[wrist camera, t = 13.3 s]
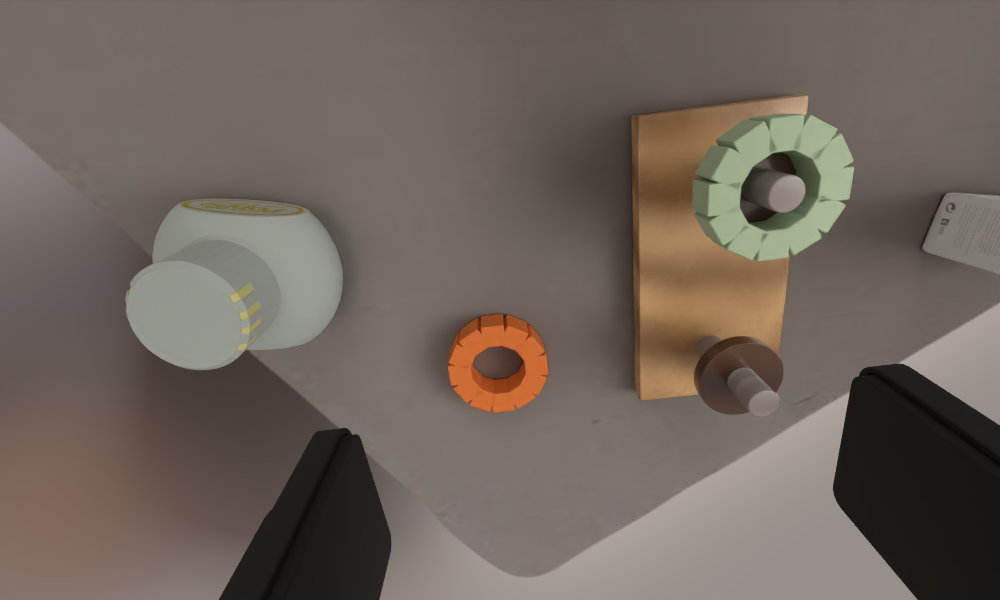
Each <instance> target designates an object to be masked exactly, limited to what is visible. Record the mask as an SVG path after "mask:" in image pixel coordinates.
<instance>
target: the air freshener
mask: <svg viewBox="0 0 1000 600" xmlns="http://www.w3.org/2000/svg"><path fill="white" fill-rule="evenodd" d="M130 286H131V289H130V290H128V291H127V293H126V298H125V301H126V303H127V309H126V314H127V318H128V320H129V322H130V324H131V328H132V329H133V331H134V333H135V334H136V336H137V337H138V339H139V340H140V341H141V342H142V343H143V345H145V346H146V347H147V348H148V349H149V350H150V351H151V352H153V353H154V354H155V355H157V356H158V357H160V358H162V359H163V360H165V361H167V362H169V363H172V364H174V365H176V366H179V367H183V368H187V369H193V370H210V369H216V368H219V367H223V366H225V365H227V364H229V363H231V362H232V361H234V360H235V359H236V358H237V357H239V356H240V355H241V354H242V353H243V352H244V351H245V350H270V349H282V348H288V347H294V346H298V345H302V344H305V343H307V342H309V341H311V340H312V339H314V338H315V337H316V336H317V335H319V334H320V333H321V332H322V331H323V330H324V328H325V327H326V326H327V325H328V324H329V323H330V321H331V319H332V318H333V316H334V314H335V313H336V311H337V308H338V305H339V302H340V299H341V294H342V288H343V270H342V266H341V261H340V257H339V254H338V251H337V249H336V246H335V244H334V242H333V240H332V238H331V237H330V235H329V233H328V231H327V230H326V229H325V227H324V226H323V225H322V224H321V222H320V221H319V220H318V219H317V218H316V217H315V216H314V215H313V214H312V213H311V212H310V211H309V210H308V209H306V208H303V207H300V206H297V205H292V204H287V203H280V202H272V201H262V200H249V199H195V200H187V201H183V202H180V203H178V204H177V205H176V206H175V207H174V208H173V209H172V210H171V211H170V212H169V213H168V215H167V216H166V218H165V219H164V221H163V222H162V223H161V225H160V228H159V230H158V233H157V235H156V238H155V242H154V248H153V264H152V265H150V266H148V267H146V268H145V269H143V270H141V271H140V272H139V273H138V274H137V275H136V276H135V277H134V278H133V280H132V281H131V283H130Z"/></svg>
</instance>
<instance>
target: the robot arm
mask: <svg viewBox="0 0 1000 600" xmlns="http://www.w3.org/2000/svg"><path fill="white" fill-rule="evenodd" d="M833 492H834V496H835V498H836V501H837V503H838V504H839V506H840V508H841V509H842V510H843V511H844V512H845V514H846V515H847V516H848V517H849V518H850V519H851V521H852V522H853V523H854V524H855V526H856V527H857V528H858V529H859V530H860V532H861V533H862V534H863V535H864V536H865V537H866V539H867V540H868V541H869V542H870V543H871V545H872V546H873V547H874V548H875V549H876V551H878V553H879V554H880V555H881V556H882V558H883V559H884V560H885V561H886V562H887V564H888V565H889V566H890V567H891V568H892V569H893V571H894V572H895V573H896V574H897V576H898V577H899V578H900V579H901V580H902V582H903V583H904V584H905V585H906V586H907V588H908V589H909V590H910V591H911V592H912V593H913V595H914V596H915V597H916V598H917V599H918V600H1000V425H998V424H997V423H995V422H994V421H992V420H990V419H989V418H987V417H986V416H984V415H983V414H981V413H980V412H978V411H977V410H975V409H973V408H972V407H970V406H969V405H967V404H966V403H964V402H963V401H961V400H960V399H958V398H957V397H955V396H954V395H952V394H950V393H949V392H947V391H946V390H944V389H943V388H941V387H940V386H938V385H937V384H935V383H933V382H932V381H930V380H929V379H927V378H926V377H924V376H923V375H921V374H919V373H918V372H917V371H915V370H913V369H912V368H910V367H909V366H906V365H904V364H891V365H882V366H873V367H867V368H864V369H863V370H862V371H861V372H860V374H859V376H858V377H855V378H854V379H853V381H852V384H851V389H850V395H849V400H848V406H847V412H846V417H845V422H844V428H843V434H842V439H841V445H840V450H839V456H838V461H837V467H836V473H835V478H834V484H833ZM390 552H391V534H390V531H389V527H388V524H387V521H386V518H385V515H384V511H383V508H382V505H381V502H380V499H379V495H378V492H377V489H376V486H375V483H374V480H373V476H372V473H371V470H370V467H369V464H368V460H367V457H366V454H365V451H364V448H363V445H362V441H361V439H360V437H359V436H358V435H356V434H355V435H352V434H351V432H350V431H349V430H348V429H347V428H341V429H332V430H324V431H318V432H316V433H315V434H314V435H313V437H312V439H311V440H310V442H309V444H308V446H307V448H306V449H305V451H304V453H303V455H302V457H301V459H300V460H299V462H298V464H297V466H296V468H295V469H294V471H293V473H292V475H291V477H290V478H289V480H288V482H287V484H286V486H285V487H284V489H283V491H282V493H281V495H280V496H279V498H278V500H277V502H276V504H275V505H274V507H273V509H272V510H271V511H270V512H269V513H268V514H267V516H266V517H265V518H264V520H263V522H262V524H261V525H260V527H259V529H258V531H257V532H256V534H255V536H254V538H253V540H252V541H251V543H250V545H249V547H248V549H247V551H246V552H245V554H244V556H243V557H242V559H241V561H240V563H239V565H238V566H237V568H236V570H235V572H234V573H233V575H232V577H231V579H230V581H229V582H228V584H227V586H226V588H225V590H224V591H223V593H222V595H221V597H220V598H219V600H379V598H380V595H381V590H382V586H383V582H384V578H385V573H386V569H387V565H388V561H389V557H390Z"/></svg>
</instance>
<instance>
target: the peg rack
mask: <svg viewBox="0 0 1000 600" xmlns="http://www.w3.org/2000/svg"><path fill="white" fill-rule="evenodd" d="M808 100H809V95H808V94H804V95H789V96H782V97H774V98H766V99H758V100H751V101H743V102H735V103H727V104H720V105H712V106H704V107H696V108H688V109H681V110H673V111H665V112H657V113H650V114H642V115H634V116H632V117H631V128H632V202H633V276H634V350H635V391H636V393H637V395H638V397H639V398H640V400H641V401H644V400H652V399H661V398H670V397H679V396H688V395H696V394H699V395H700V396H701V398H702V399H703V400H704V402H705V403H706V404H707V405H708V406H709V407H710V408H712V409H713V410H715V411H718V412H720V413H724V414H733V415H734V414H743V413H747V412H750V413H751V414H752V415H754V416H757V417H764V416H767V415H770V414H771V413H773V412H774V411H775V410H776V409H777V407H778V405H779V397H778V395H777V394H776V392H777V390H778V389H779V387H780V385H781V382H782V379H783V365H782V361H781V359H780V357H779V356H778V354H779V345H780V337H781V328H782V320H783V311H784V303H785V295H786V286H787V278H788V269H789V261H790V254H789V253H788V257H787V258H782V259H774V260H765V261H756V260H754V259H753V260H748V259H746V258H744V257H742V256H739V255H737V254H735V253H733V252H730V251H728V250H726V249H725V248H723V247H721V246H720V245H718V244H716V243H715V242H713V241H712V240H711V238H709V237H707V236H706V235H705V233H704V231H703V230H702V228H701V226H700V225H699V223H698V221H697V220H696V218H695V216H694V213H696V212H697V211H695V210H693V209H692V193H693V179H698V178H702V177H700V176H698V175H696V174H695V172H696V171H697V169H698V167H699V165H700V163H701V162H702V160H703V158H704V156H705V155H706V153H707V151H708V149H709V147H710V146H711V145H717V146H718V144H717V142H716V139H717V138H718V137H720V136H721V135H723V134H724V133H725V132H727V131H728V130H730V129H731V128H733V127H734V126H735V125H737V124H738V123H740V122H741V121H742V120H749V118H750V117H756V116H764V115H772V114H804V115H807V108H808ZM805 190H806V189H805V184H804V182H803V181H802V179H801V178H799V177H798V176H796V170H795V168H794V166H793V164H792V162H791V160H790V158H789V156H788V155H786V154H784V153H782V152H778V153H772V154H771V155H769V156H768V157H766V158H765V159H763V160H762V161H760V162H759V163H758V164H756V165H755V166H753V167H752V169H751V171H750V172H749V174H748V176H747V177H746V179H745V181H744V182H743V184H742V186H741V195H740V209H741V211H742V213H743V215H744V216H745V218H746V220H747V222H748V223H749V222H758V221H765V220H767V219H769V218H770V217H772V216H773V215H775V214H776V213H778V212H779V213H785V212H789V211H791V210H793V209H795V208H796V207H797V206H799V204H800V203H801V202H802V200H803V198H804V196H805Z"/></svg>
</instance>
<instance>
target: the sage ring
mask: <svg viewBox="0 0 1000 600" xmlns="http://www.w3.org/2000/svg"><path fill="white" fill-rule="evenodd" d="M837 130H838V129H837V128H835V127H833V126H831V125H829V124H827V123H825V122H823V121H822V120H820V119H818V118H816V117H814V116H812V115H804V114H772V115H764V116H756V117H750V118H749V120H742V121H741V122H740V123H738V124H737V125H735V126H734V127H733V128H731V129H730V130H728V131H727V132H725V133H724V134H723V135H721V136H720V137H718V138H717V139H716V142H717V144H718V146H717V145H711V146H710V147H709V149H708V151H707V153H706V155H705V156H704V158H703V160H702V162H701V163H700V165H699V167H698V169H697V171H696V172H695V174H696V175H698V176H700V177H702V178H698V179H693V193H692V209H693V210H695V211H697V212H696V213H694V216H695V218H696V220H697V221H698V223H699V225H700V226H701V228H702V230H703V231H704V233H705V235H706V236H707V237H709V238H711V240H712V241H713V242H715V243H716V244H718V245H720V246H721V247H723V248H725V249H726V250H728V251H730V252H733V253H735V254H737V255H739V256H742V257H744V258H746V259H748V260H753V259H754V260H756V261H765V260H774V259H782V258H787V257H788V253H789V254H791V255H795V254H797V253H799V252H800V251H802V250H803V249H805V248H807V247H808V246H810V245H811V244H813V243H815V242H816V241H818V240H819V239H821V235H820V233H819V231H821V232H823V233H827V232H828V231H829V229H830V228H831V227H832V225H833V224H834V222H835V221H836V219H837V218H838V216H839V215H840V214H841V212H842V211H843V209H844V208H845V206H846V205H845V204H844V203H842V202H840V200H848V199H849V197H850V191H851V185H852V179H853V172H854V167H853V166H847V165H848V164H850V163H851V162H853V158H852V156H851V154H850V151H849V149H848V147H847V144H846V142H845V140H844V138H843V135H842V134H841V133H836V131H837ZM778 152H782V153H784V154H786V155H788V156H789V158H790V160H791V162H792V164H793V166H794V168H795V170H796V176H798V177H799V178H801V179H802V181H803V182H804V184H805V189H806V190H805V196H804V198H803V200H802V202H801V203H800V204H799V206H797V207H796V208H795V209H793V210H791V211H789V212H785V213H779V212H778V213H776V214H775V215H773V216H772V217H770V218H769V219H767V220H765V221H758V222H749V223H748V222H747V220H746V218H745V216H744V215H743V213H742V211H741V209H740V195H741V186H742V184H743V182H744V181H745V179H746V177H747V176H748V174H749V172H750V171H751V169H752V167H753V166H755V165H756V164H758V163H759V162H760V161H762V160H763V159H765V158H766V157H768V156H769V155H771V154H772V153H778Z"/></svg>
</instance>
